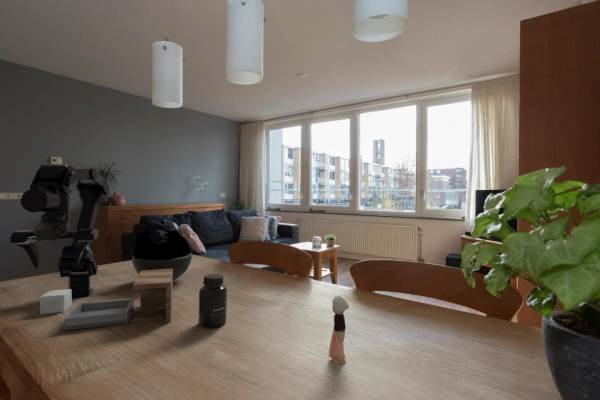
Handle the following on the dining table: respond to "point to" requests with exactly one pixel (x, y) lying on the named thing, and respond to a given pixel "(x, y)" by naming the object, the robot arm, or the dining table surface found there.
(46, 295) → the small box
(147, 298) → the shelf
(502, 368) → the dining table surface
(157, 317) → the rails
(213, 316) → the supplement bottle
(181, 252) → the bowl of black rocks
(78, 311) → the tray
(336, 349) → the grandmother figurine
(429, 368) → the dining table surface
